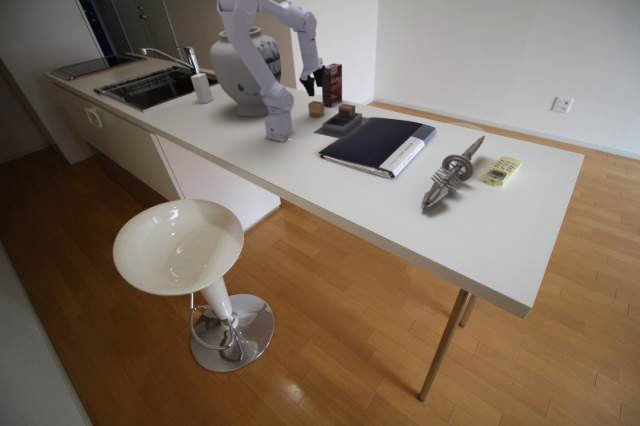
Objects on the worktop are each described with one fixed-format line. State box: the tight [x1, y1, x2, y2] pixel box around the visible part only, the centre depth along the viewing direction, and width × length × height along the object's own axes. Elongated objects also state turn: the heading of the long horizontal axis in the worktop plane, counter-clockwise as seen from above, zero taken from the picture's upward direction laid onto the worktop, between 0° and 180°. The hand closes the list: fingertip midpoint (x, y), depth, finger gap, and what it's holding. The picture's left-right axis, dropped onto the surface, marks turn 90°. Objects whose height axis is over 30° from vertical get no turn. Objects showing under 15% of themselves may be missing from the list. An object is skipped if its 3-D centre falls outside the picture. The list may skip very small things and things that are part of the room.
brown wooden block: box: [337, 103, 356, 120], centre depth 105 cm, size 4×5×6 cm
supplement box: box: [321, 63, 343, 109], centre depth 119 cm, size 9×5×16 cm, turn 143°
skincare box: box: [190, 73, 214, 104], centre depth 135 cm, size 6×4×12 cm
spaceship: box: [420, 135, 486, 211], centre depth 74 cm, size 8×35×8 cm
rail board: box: [313, 112, 371, 140], centre depth 105 cm, size 20×13×4 cm, turn 147°
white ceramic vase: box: [209, 26, 282, 118], centre depth 117 cm, size 27×27×30 cm
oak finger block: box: [307, 100, 326, 119], centre depth 113 cm, size 4×5×6 cm
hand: (315, 91), depth 109 cm, fingers open, 7 cm apart
